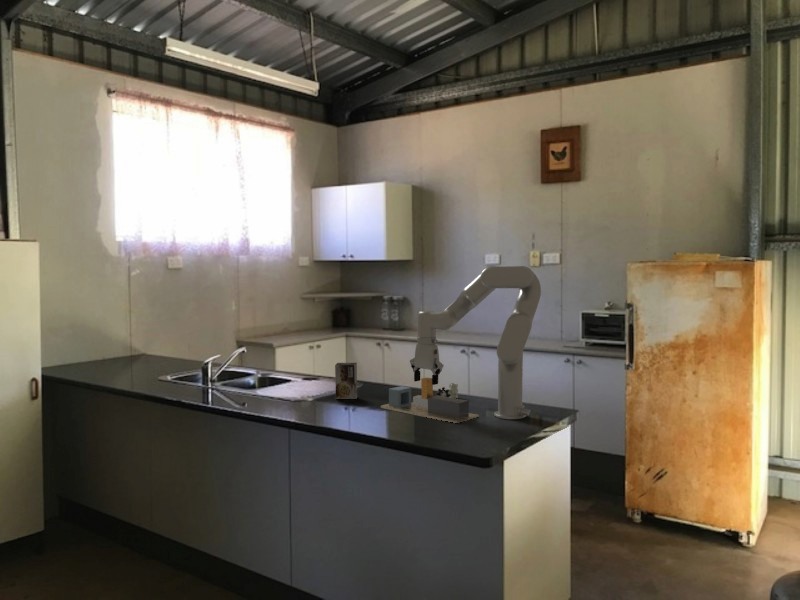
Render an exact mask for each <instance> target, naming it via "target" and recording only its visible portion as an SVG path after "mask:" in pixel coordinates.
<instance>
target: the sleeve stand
mask: <svg viewBox="0 0 800 600" xmlns="http://www.w3.org/2000/svg"><path fill="white" fill-rule="evenodd" d="M469 404H470V403H469V400H466V399H461V398H457V399H456V398H450V397H444V396H442V395H441V396H439V395H437V394H436V395H433V396H432V397H428V409H425V408H420V407H415V406H413V401H411V404H409V405H405V406H400V407H396V406H391V405H389V403H387V404H382V405H380V408H381V409H383V410H384V409H385V410H388V411H394V412H398V413H403V414H407V415H411V416H418V417H423V418H426V417H427V419H431V418H432V420H436V419H437V420H436V421H441V420H442V422H445V421H448V422H447V423H450V422H453V423H452V424H455V423H458V424H461V423H460V422H462V423H464V422H463V421H465V422H468V421H471V420H470V419H472V420H474V419H473V418H475V419H478V418H477V417H479V418H480V414H477V413H471V412H469V411H470V410H469V409H470V408H469V407H470V405H469ZM467 420H468V421H467Z"/></svg>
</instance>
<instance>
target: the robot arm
mask: <svg viewBox="0 0 800 600" xmlns="http://www.w3.org/2000/svg"><path fill="white" fill-rule="evenodd" d="M496 289H518V295H517V298H516V300H515V304H514V306H513V310H512V312H511V314H510V316H509V317H508V318H507V319H506V323H505V326H504V328H503V331H502V333H501V337H500V339H499V342H498V344H497V348H496V356H497V359H498V363H497V367H498V368H497V369H498V370H497V371H498V372H497V376H498V377H497V392H498V393H497V409H498V410H496V411H494V412H493V415H494V417H495V416H496V418H498V419H502V420H522V419H525V418H526V417H527V416H530V414H531V410H530V409H528V408H526V407H525V405H523V375H524V374H523V371H524V370H523V366H524V365H523V363H524V360H523V359H524V357H523V356H524V348H525V346H526V343H527V341H528V339H529V336H530V332H531V330H532V326H533V320H534V318H535V315H536V312H537V309H538V306H539V303H540V299H541V295H542V294H541V292H542V287H541V283H540V280H539V278H538V276H537V275H536V273H535V272H534V271H533V270H532V269H531V268H529V266H526V265H520V266H519V265H512V266H496V265H490V266H486V267H485V268H484V269H483V270H482V271H481V273H479V275H478V276H476V277H475V278H474V279H473V280H472V281H471V282H469V284H468V285H467V286H465V287H464V288H463V289H462V290H461V292H460V294H459V295H458V296H457V297H456V298H455V300H454V301H453V302H451V304H449V305H448V306H447V307H446V308H445V309H443V310H441V311H436V312H435V311H433V310H420V311H418V314H417V336H416V337H417V343H416V346H415V350H414V357H413V358H411V359H409V363H410V367H411V369H412V372H413V381H414V382H420V381H421V369H423V370H430V371H431V372H432V373H431V374H432V375H431V378H432V385H433V386H436V385H439V375H440V373H441V372H442V371H443V369H444V364H443V363H442V362H441V361H440V353H439V351H440V350H439V345H438V344H437V343H438V339H437V330H441V331H447V330H451V328H453V327H454V326H456V324H457V323H459V322H460V321H461V320H462V319H463V318H464V317H466V316H467V314H468V313H470V311H472V310H473V309H475V308H476V307H478V306H479V304H481V303H482V302H483V301H484V300H485V299H486V298H487V297H488V296H490V295H491V294H492V292H493V291H495V290H496Z"/></svg>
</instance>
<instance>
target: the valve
mask: <svg viewBox="0 0 800 600" xmlns="http://www.w3.org/2000/svg"><path fill="white" fill-rule="evenodd" d="M458 387H459V385H458V383H455V382H453V383H452V382H451V383H449V385H448V388H449V389H448V388H447V389H446V388H445V386H443V387H441V388H438V389H437V391H438V392H437V393H436V396H437V395H439V396H444V397H450V398H457V399H459V396H458V394H459V389H458Z"/></svg>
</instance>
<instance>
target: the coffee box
mask: <svg viewBox="0 0 800 600" xmlns="http://www.w3.org/2000/svg"><path fill="white" fill-rule="evenodd" d="M357 367H358V366H357V362H337V363H336V364H335V365H334V374H335V375H334V376H335V377H334V378H335V380H334V381H335V400H336V399H356V400H357V398H358V384H357V383H358V377H357V376H358V374H357V371H358V370H357Z"/></svg>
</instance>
